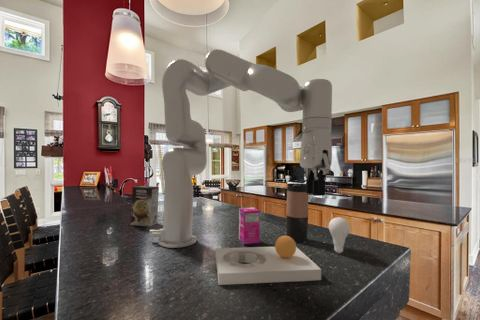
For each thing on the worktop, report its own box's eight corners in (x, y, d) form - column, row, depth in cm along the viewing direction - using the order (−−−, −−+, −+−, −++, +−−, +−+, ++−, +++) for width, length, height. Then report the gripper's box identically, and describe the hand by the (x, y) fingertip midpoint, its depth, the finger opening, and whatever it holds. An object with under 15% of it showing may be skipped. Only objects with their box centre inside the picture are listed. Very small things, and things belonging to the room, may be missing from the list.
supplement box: (238, 240, 84) (238, 207, 84) (253, 239, 86) (254, 207, 86) (243, 246, 79) (244, 210, 79) (260, 244, 80) (260, 210, 81)
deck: (218, 284, 53) (219, 273, 53) (215, 256, 69) (215, 248, 69) (321, 280, 56) (321, 269, 56) (295, 254, 72) (295, 246, 72)
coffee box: (130, 225, 100) (131, 186, 101) (139, 221, 107) (140, 185, 107) (150, 226, 99) (151, 187, 99) (158, 223, 105) (159, 186, 105)
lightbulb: (323, 251, 76) (324, 216, 76) (338, 248, 78) (339, 214, 78) (338, 258, 70) (339, 220, 70) (354, 255, 73) (354, 219, 73)
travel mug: (305, 236, 90) (306, 183, 91) (309, 243, 83) (310, 185, 83) (285, 235, 91) (286, 183, 91) (286, 242, 83) (288, 184, 84)
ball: (278, 261, 60) (279, 239, 60) (272, 253, 66) (272, 233, 66) (299, 260, 61) (299, 239, 61) (291, 252, 66) (292, 232, 67)
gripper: (292, 130, 73) (290, 190, 72) (317, 120, 56) (316, 198, 56) (315, 131, 74) (314, 191, 74) (347, 122, 58) (345, 199, 57)
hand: (315, 193), depth 65 cm, fingers open, 3 cm apart
